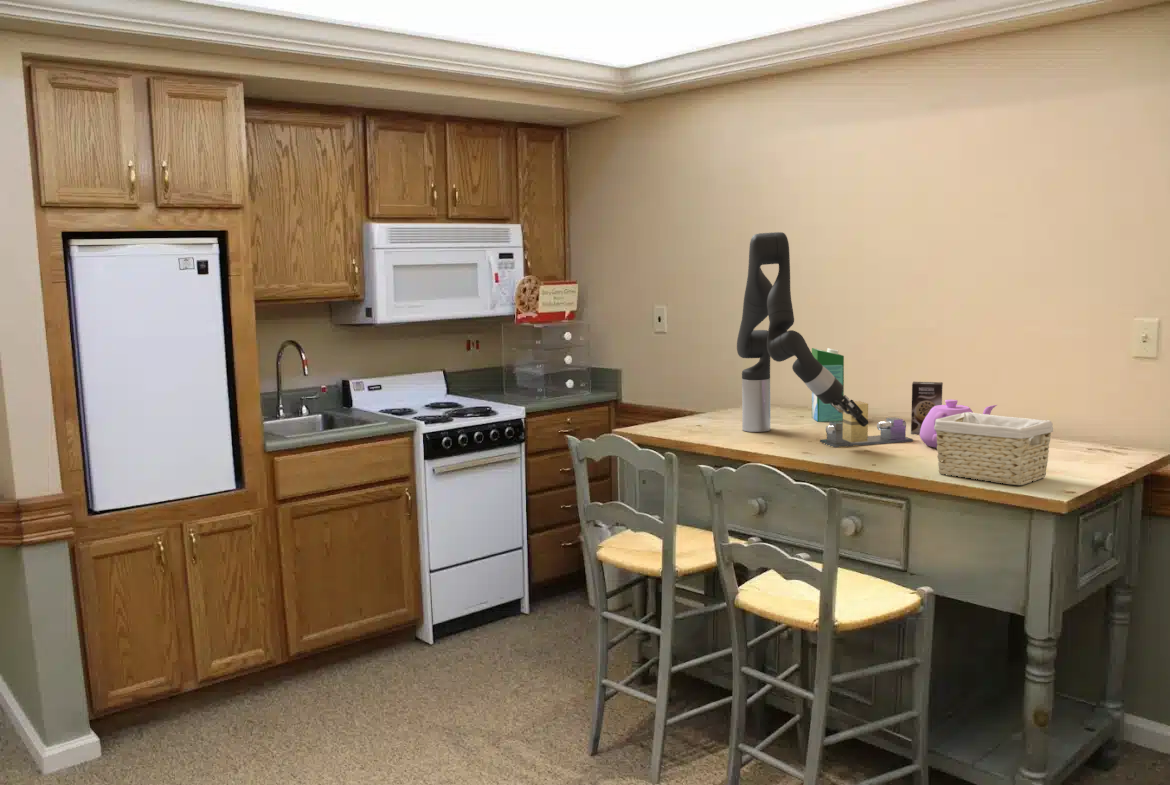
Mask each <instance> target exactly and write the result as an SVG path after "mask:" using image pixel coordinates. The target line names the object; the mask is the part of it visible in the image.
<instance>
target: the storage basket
mask: <svg viewBox="0 0 1170 785" xmlns="http://www.w3.org/2000/svg"><path fill="white" fill-rule="evenodd" d="M934 429H935V430H936V433H937V444H938V445H937V448H936V452H937V461H938V462H937V463H938V464H937V466H938V473H939V474H940V473H941V475H944V474H947V475H952V476H951V477H956V476H958V477H957V478H961V477H965V478H964V479H966V478H971V479H970V480H975V479H976V480H977V479H978V480H977V481H982V480H985V481H984V482H986V481H991V482H990V483H996V484H997V483H998V484H1000V483H1001V484H1002V483H1003V484H1006V485H1012V486H1023V485H1027V484H1031V483H1034V482H1036V481H1039V480H1041V479H1044V478H1045V477H1046V476H1047V475H1046V474H1047V467H1048V462H1049V454H1050V453H1049V452H1050V450H1049V449H1050V443H1051V436H1052V434H1051V433H1053V432H1054V426H1053V422H1052V420H1043V419H1042V420H1041V419H1036V418H1035V419H1034V418H1025V417H1016V416H1014V417H1013V416H1003V415H996V414H995V415H993V414H990V415H988V414H983V413H980V412H979V413H977V412H973V413H972V412H966V413H962V414H956V415H952V416H948V417H944V418H940V419H936V421H935V426H934ZM947 475H946V476H947ZM1032 481H1033V482H1032Z"/></svg>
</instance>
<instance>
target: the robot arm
mask: <svg viewBox="0 0 1170 785" xmlns="http://www.w3.org/2000/svg"><path fill="white" fill-rule="evenodd" d="M789 244H790V243H789V239H788V237H787V234H786V233H785V232H781V231H780V232H779V231H776V232H762V233H760V232H759V233H755V234H753V236H752V237H751V238H750V242H749V247H748V248H749V250H748V251H749V253H748V269H747V270H748V271H747V278H746V286H745V290H744V296H743V304H742V317H741V321H740V326H739V330H738V335H737V341H736V351H737V355H738V356H739V357H740V358H741V359H759V360H758V362H757V363H756V364H754V365H752V366H749V367H746V368H745V369H743V370H742V372H741V398H742V400H741V402H742V403H741V404H742V406H741V408H742V409H741V410H742V415H741V416H742V417H741V418H742V419H741V420H742V421H741V422H742V424H741V425H742V428H741V429H742V431H744V432H748V433H749V432H751V433H760V432H761V433H763V432H768V431H771V359H772V360H773V361H775V362H777V363H780V362H784V361H786V360H789V359H790V358H792V357H795V358H796V359H795V361H794V362H793V364H792V366H791V367H792V371H793V372H794V373H795V375H796V376H797V377H798V378H799V379H800V380H801V381H802V382H803V383H804V384H805V385H806V387H807V389H809V391H810V392H811V393H812V392H813V393H814V394H815V395H816V396H817V397H818V398H819V399H820V400H821V401H822V402H823V403H824V404H831V405H832V406H833V407H834V408H835V409H836V410H837V411H838V412H839V413H842V414H843V411H844V412H845V413H846V414H847V415H848V414H850V415H851V416H852V417H853V418H854V419H856V420H857V422H859V423H860V425H861V426H863V427H865V426H866V425H867V424H868V425H869V419H868V420H867V419H866V418H865V417H864V416H863V415H862V413H863V412H862V410H861V409H860V408H859V407H858V406H857V405H856V403H855V402H854V401H855V400H854V399H850V398H849V397H848V396H847V395H845V394H844V396H843V395H842V392H843V389H844V390H845V388H844V387H845V386H844V387H843V385H842V384H841V383H840V382H839V381H838V380H837V379H836V378H835V377H834V376H833V375H832V374H831V373H830V372H829V371H828V370H827V369H826V368H825V367H823V366H822V365H821V364H820V363H819V362H818V361H817V359H815V358H814V356H813V355H812V350H811V349H810V347H809V346H808V344H807V342H806V340H805V338H804V337H803V335H802V334H801V333H800V332H798V331H796V330H791V329H790V328H791V327H792V326H793V325H794V324H795V315H794V309H793V302H792V296H791V295H792V294H791V264H790V262H791V261H790V260H791V258H790V257H791V256H790V245H789ZM763 265H778V273H777V275H776V278H775V281H774V282H773V284H772V283H771V281H770V280H769V278H768V277H767V276H766V275H765V274H764V271H763V270H762V268H761V266H763ZM767 317H768V320H769V322H768V323H769V324H768V330H767V329H756V327H758V326H759V325H760V324H761V323H762V322H763V321H764V320H765V319H766V318H767ZM847 409H848V410H849V411H846V410H847ZM856 411H857V412H856ZM855 412H856V413H855Z"/></svg>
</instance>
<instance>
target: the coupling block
mask: <svg viewBox="0 0 1170 785" xmlns="http://www.w3.org/2000/svg"><path fill="white" fill-rule="evenodd" d="M853 401H854V402H855V403H856V405H857V406H858V407H859V408H860V409H861V410H862V412H863V413H862V415H863V416H864V417H865V418H866V419H867V420H868V421H869V403H868V402H867V403H866V402H864V401H861V400H856V401H855V400H853ZM846 411H849V410H848V409H847V410H846ZM856 412H857V411H856ZM856 412H855V413H856ZM842 422H843V439H844V440H846V441H849V442H863V441H868V436H869V435H868V434H869V433H868V431H869V430H868V429H869V426H868V425H869V423H868V424H867V425H866V426H865V427H863V426H861V425H860V423H859V422H857V420H856V419H854V418H853V417H852V416H851V415H850V414H848V415H847V414H846V413H845V412H844V411H843V421H842Z"/></svg>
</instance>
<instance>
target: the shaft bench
mask: <svg viewBox="0 0 1170 785" xmlns="http://www.w3.org/2000/svg"><path fill="white" fill-rule="evenodd" d="M906 427H907V422H906V420H904V419H902V418H900V417H896V416H894V417H886V419H885V421H879V422H877V424H876V429H877V430H878V431H880V434H878V435H868V441H863V442H849V441H846V440H844V439H843V421H829V425H826V426H825V433H826V438H825V439H820V440H819V443H820V442H822V443H821V444H823V443H825V444H824V445H826V444H827V445H826V446H828V445H830V446H829V447H831V446H833V447H834V448H840V447H839V446H847V447H854V446H853V445H860V446H871V445H872V446H873V445H884V444H897V443H909V442H910V443H911V442H913V440H914V439H913V438H911V437H907V436H906V431H907V430H906ZM833 447H832V448H833Z"/></svg>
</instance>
